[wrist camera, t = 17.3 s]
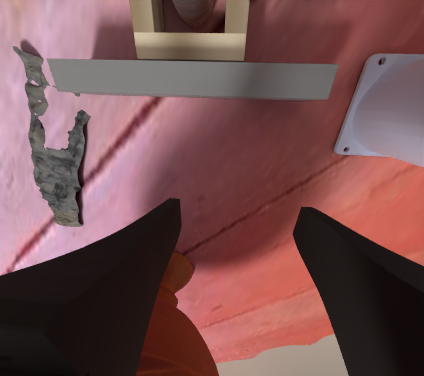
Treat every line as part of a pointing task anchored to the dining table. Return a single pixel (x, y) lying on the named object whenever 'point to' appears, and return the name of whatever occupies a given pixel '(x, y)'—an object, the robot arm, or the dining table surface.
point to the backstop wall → (195, 79)
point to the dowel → (194, 10)
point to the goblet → (174, 331)
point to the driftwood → (51, 158)
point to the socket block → (188, 35)
